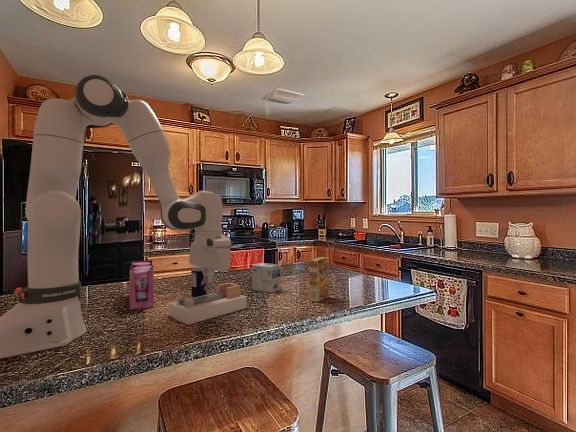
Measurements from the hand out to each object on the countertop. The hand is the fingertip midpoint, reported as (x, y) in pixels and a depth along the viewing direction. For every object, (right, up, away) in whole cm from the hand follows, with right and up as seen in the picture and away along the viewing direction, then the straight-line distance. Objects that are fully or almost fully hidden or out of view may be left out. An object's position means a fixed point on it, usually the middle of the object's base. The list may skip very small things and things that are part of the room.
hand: (208, 281), depth 109 cm
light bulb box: (+18, -10, +28) cm, 35 cm away
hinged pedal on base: (0, -10, -1) cm, 10 cm away
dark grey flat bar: (0, -6, -1) cm, 6 cm away
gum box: (-28, -10, +14) cm, 33 cm away
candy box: (+38, -10, +14) cm, 42 cm away
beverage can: (-8, -10, +17) cm, 21 cm away
